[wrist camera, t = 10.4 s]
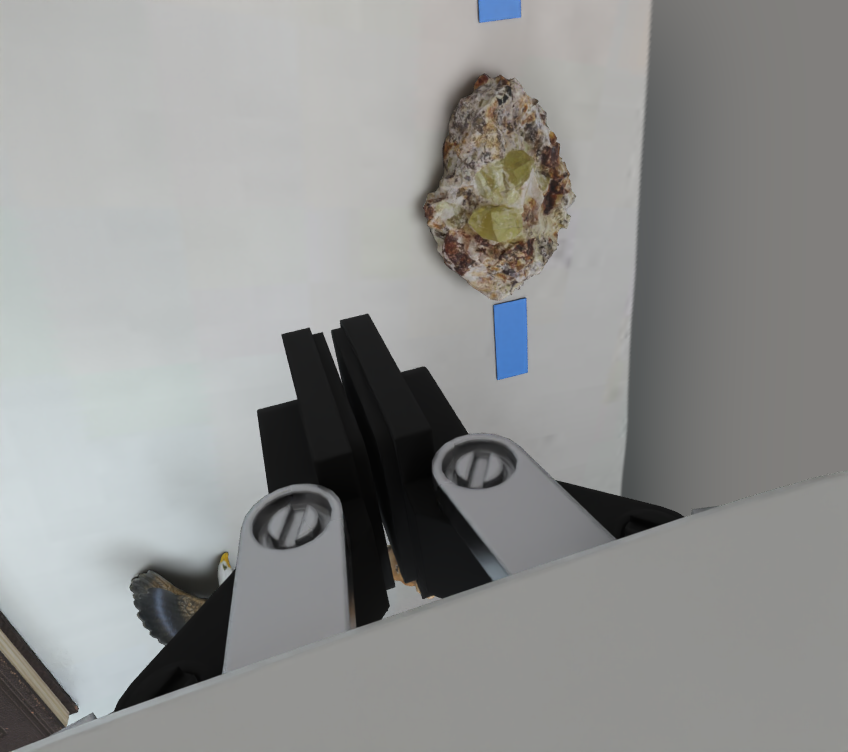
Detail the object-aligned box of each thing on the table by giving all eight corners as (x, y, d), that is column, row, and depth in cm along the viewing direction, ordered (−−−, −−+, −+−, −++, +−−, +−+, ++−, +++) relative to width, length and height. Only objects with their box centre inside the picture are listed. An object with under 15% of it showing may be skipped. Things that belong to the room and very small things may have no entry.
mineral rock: (595, 279, 33) (475, 328, 30) (540, 261, 37) (427, 303, 33) (597, 57, 28) (452, 87, 25) (533, 59, 31) (398, 86, 28)
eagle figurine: (295, 528, 37) (130, 554, 33) (319, 653, 34) (142, 702, 30) (266, 559, 43) (122, 585, 39) (284, 668, 40) (131, 710, 36)
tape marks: (472, -118, 25) (473, -119, 25) (517, -122, 26) (518, -123, 26) (497, 379, 38) (497, 380, 38) (527, 371, 38) (527, 372, 38)
